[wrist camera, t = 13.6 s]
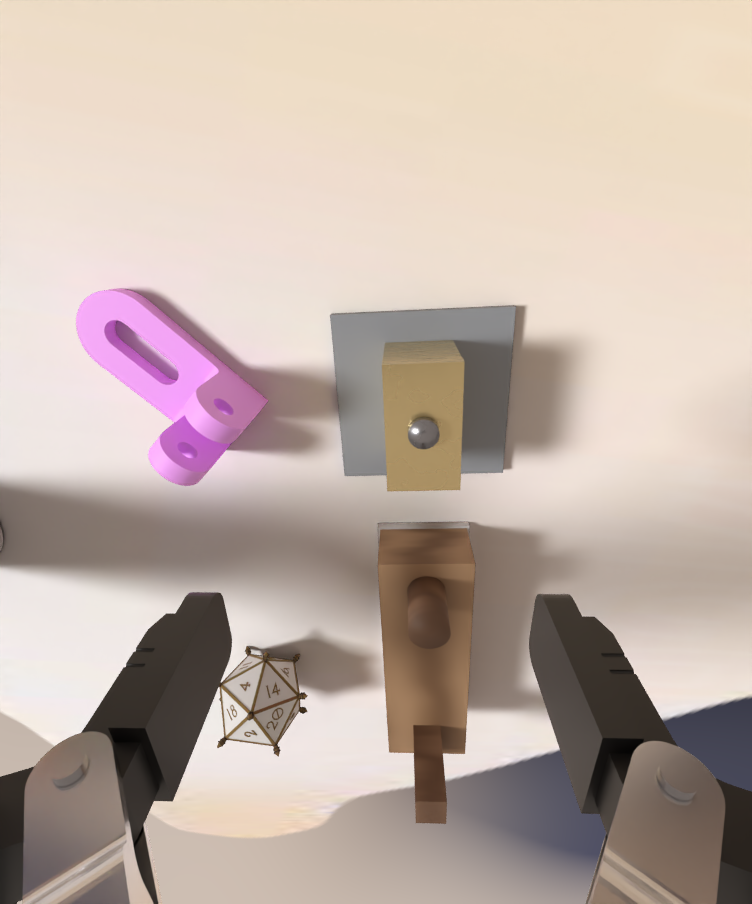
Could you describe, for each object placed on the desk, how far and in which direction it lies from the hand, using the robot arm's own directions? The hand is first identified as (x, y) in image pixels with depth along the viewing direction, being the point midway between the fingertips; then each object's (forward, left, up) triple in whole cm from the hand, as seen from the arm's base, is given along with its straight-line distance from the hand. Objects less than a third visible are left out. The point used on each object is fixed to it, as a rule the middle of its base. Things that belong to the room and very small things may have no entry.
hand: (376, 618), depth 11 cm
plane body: (+2, -23, -22) cm, 32 cm away
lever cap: (+2, -1, -22) cm, 22 cm away
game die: (-13, -28, -23) cm, 38 cm away
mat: (+2, -1, -22) cm, 22 cm away
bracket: (-16, +1, -23) cm, 27 cm away
